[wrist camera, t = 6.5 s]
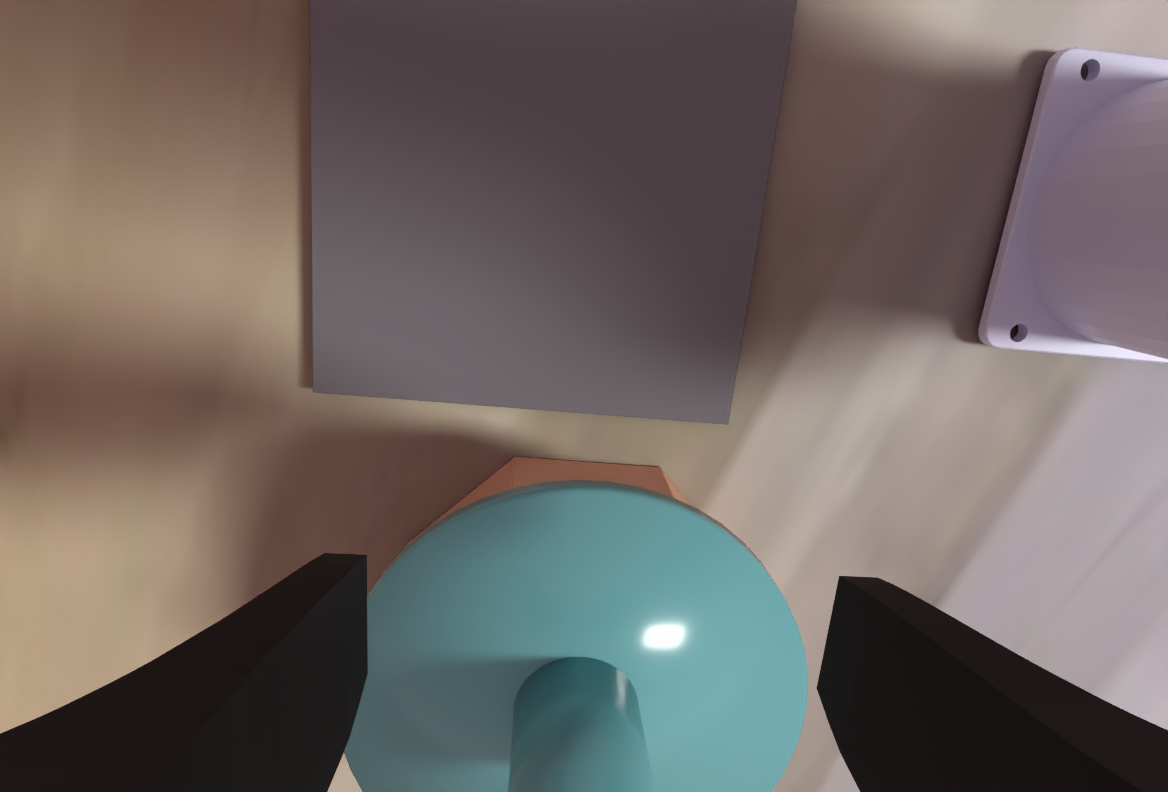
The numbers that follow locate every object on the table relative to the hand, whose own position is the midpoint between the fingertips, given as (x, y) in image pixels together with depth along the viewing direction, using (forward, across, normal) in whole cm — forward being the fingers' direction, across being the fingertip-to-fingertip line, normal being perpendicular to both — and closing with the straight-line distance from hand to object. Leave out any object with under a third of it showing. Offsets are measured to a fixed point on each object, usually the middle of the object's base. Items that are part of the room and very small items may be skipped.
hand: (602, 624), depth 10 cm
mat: (+10, +1, -6) cm, 12 cm away
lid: (+6, 0, +6) cm, 9 cm away
